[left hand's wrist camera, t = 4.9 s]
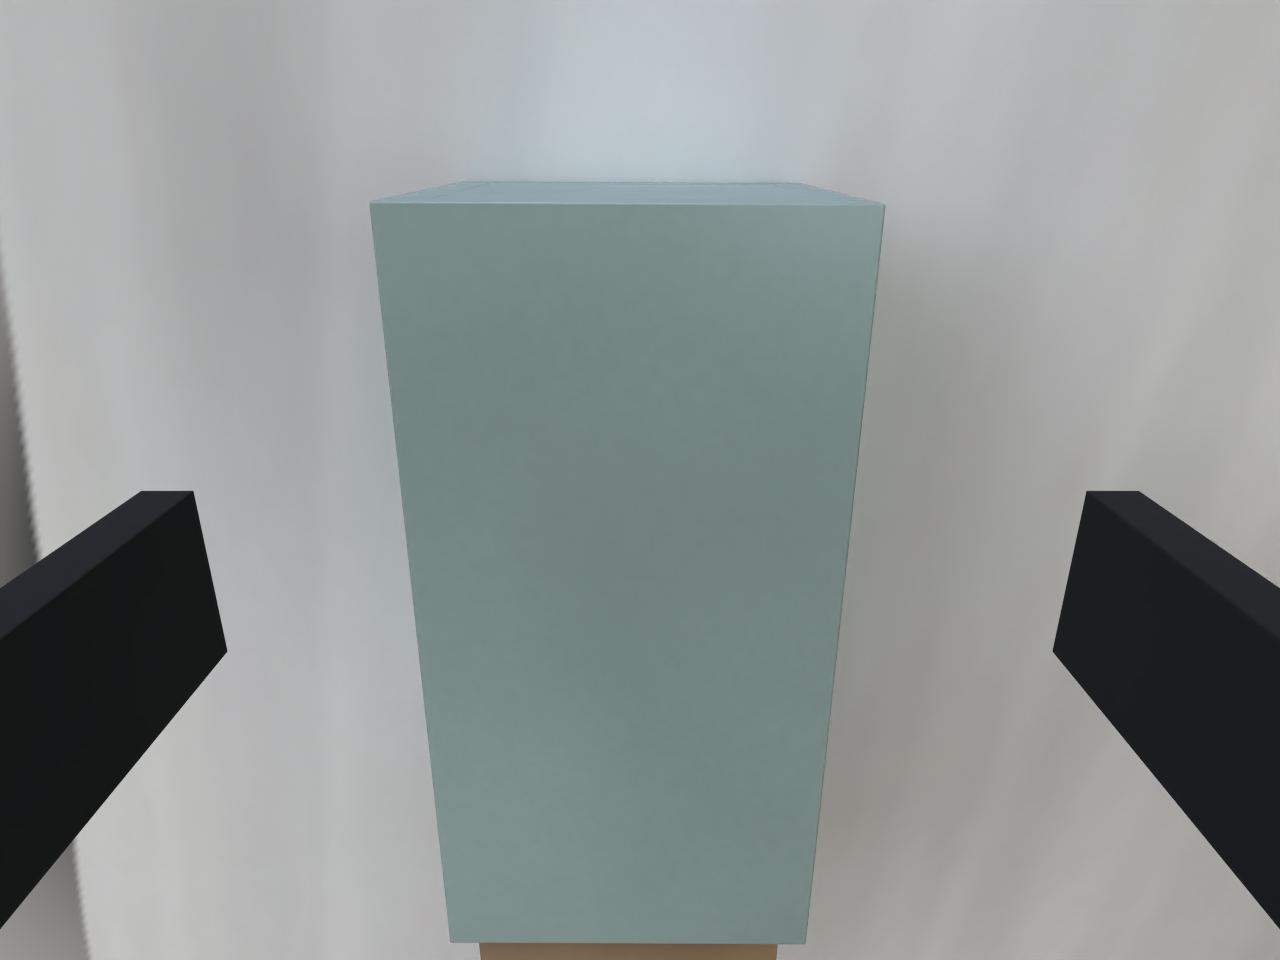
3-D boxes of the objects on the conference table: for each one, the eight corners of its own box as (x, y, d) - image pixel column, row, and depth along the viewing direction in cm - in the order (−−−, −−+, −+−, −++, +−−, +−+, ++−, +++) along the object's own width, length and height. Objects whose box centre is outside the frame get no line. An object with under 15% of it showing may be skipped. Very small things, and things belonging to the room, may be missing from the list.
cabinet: (762, 735, 34) (805, 945, 25) (500, 734, 34) (449, 943, 25) (802, 183, 26) (886, 203, 17) (461, 181, 26) (368, 201, 17)
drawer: (741, 895, 36) (765, 1077, 29) (520, 894, 36) (490, 1075, 29) (781, 299, 27) (832, 354, 20) (481, 297, 27) (424, 352, 20)
